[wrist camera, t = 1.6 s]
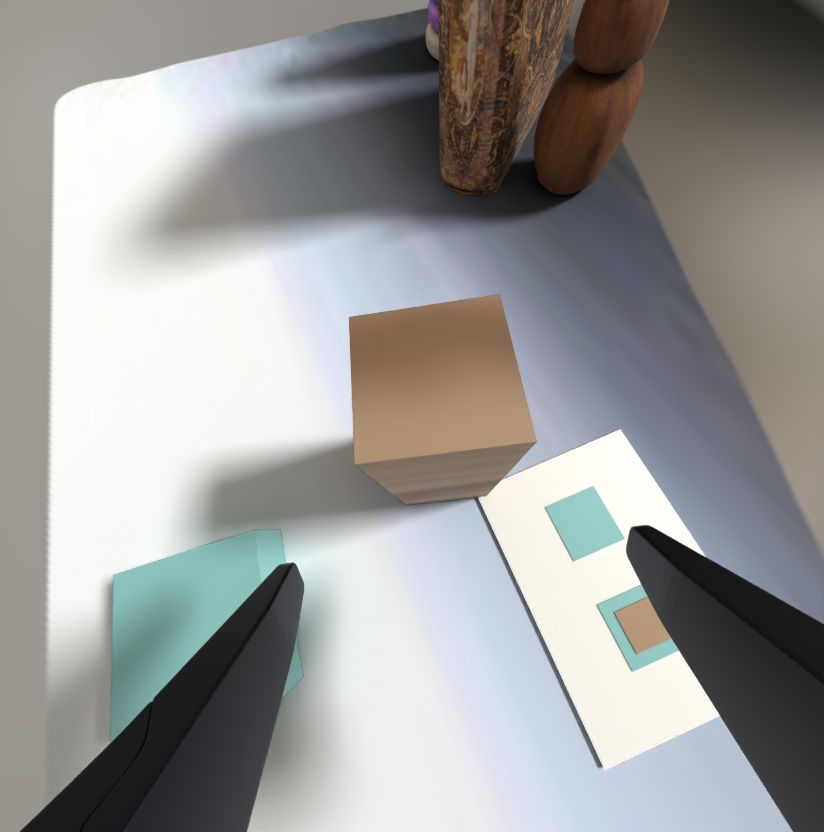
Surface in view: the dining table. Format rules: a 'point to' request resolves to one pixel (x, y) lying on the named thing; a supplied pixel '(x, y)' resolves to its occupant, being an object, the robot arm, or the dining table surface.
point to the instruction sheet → (599, 592)
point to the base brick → (182, 614)
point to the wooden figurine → (595, 92)
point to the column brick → (437, 399)
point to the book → (493, 83)
